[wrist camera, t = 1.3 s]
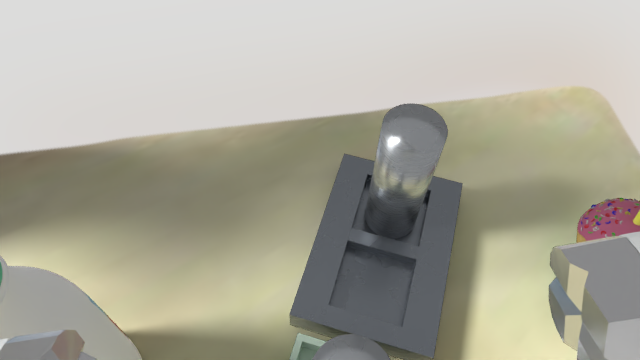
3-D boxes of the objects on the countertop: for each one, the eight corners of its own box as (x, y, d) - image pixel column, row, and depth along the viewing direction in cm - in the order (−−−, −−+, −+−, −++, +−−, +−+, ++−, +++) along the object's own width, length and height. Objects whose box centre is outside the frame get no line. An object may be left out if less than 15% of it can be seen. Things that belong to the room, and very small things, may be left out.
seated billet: (359, 230, 44) (375, 144, 34) (371, 189, 46) (389, 97, 36) (410, 244, 43) (442, 161, 33) (419, 201, 46) (452, 112, 36)
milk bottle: (168, 374, 38) (63, 258, 21) (83, 468, 34) (-120, 416, 18) (100, 313, 40) (-41, 166, 24) (15, 395, 37) (-220, 289, 20)
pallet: (290, 324, 40) (289, 314, 38) (342, 168, 49) (344, 153, 47) (426, 366, 39) (433, 358, 37) (455, 197, 47) (462, 183, 45)
